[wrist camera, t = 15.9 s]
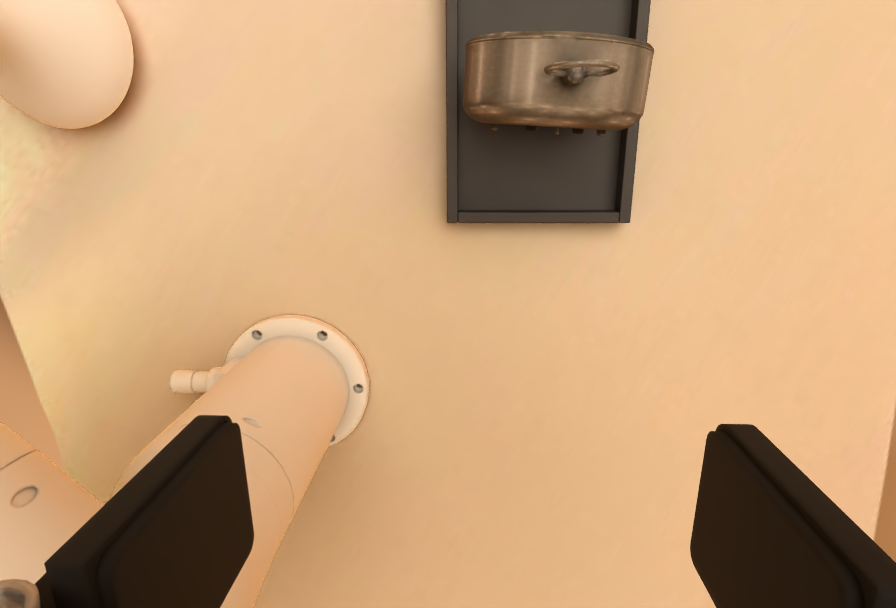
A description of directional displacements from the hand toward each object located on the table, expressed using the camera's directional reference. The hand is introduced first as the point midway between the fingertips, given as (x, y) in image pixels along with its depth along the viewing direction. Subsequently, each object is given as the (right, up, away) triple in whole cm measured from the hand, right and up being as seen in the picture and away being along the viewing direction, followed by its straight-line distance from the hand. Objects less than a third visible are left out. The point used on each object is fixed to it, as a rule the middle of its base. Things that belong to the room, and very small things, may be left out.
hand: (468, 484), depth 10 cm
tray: (+6, +19, +28) cm, 34 cm away
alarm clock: (+6, +19, +28) cm, 34 cm away
